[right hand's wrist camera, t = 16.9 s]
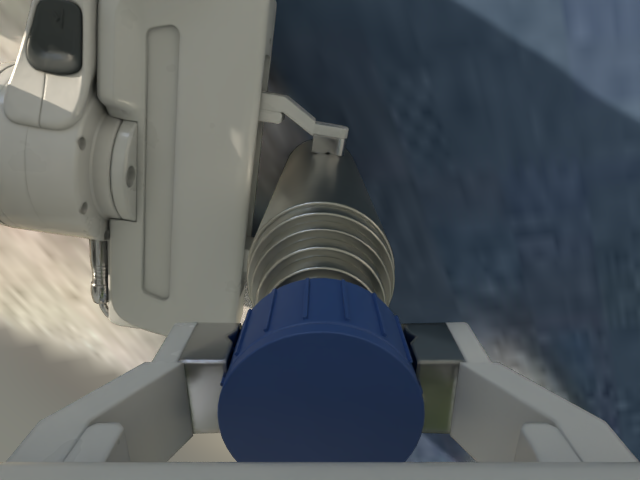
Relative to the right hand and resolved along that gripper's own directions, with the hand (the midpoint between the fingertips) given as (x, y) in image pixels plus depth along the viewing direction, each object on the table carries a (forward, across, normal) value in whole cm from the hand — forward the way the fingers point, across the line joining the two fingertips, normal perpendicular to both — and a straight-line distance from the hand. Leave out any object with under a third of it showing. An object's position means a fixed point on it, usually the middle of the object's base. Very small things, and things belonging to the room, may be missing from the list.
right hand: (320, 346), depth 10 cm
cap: (-2, 0, 0) cm, 2 cm away
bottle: (+20, 0, 0) cm, 20 cm away
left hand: (+15, -1, 0) cm, 15 cm away
